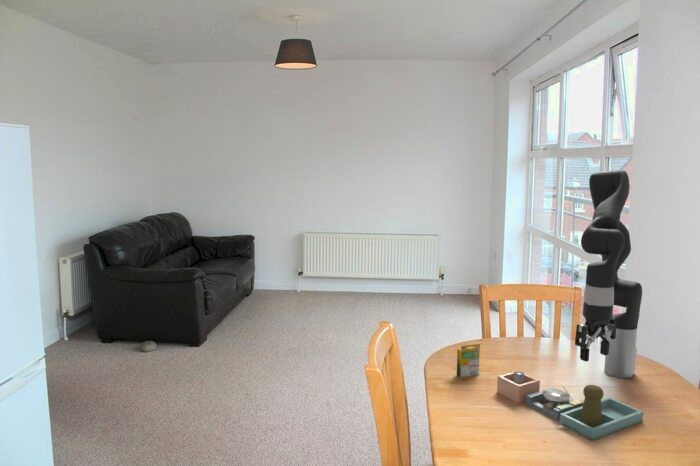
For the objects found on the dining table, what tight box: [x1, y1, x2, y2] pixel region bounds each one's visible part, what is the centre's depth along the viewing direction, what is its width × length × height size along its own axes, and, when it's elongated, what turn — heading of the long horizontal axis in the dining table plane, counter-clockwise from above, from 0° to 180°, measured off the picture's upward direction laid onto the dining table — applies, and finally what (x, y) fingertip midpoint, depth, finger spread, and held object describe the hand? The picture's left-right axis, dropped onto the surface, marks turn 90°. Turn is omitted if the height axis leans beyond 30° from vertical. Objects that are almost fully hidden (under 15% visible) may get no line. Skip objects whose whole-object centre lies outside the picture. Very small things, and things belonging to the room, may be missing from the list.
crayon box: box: [456, 343, 481, 378], centre depth 191 cm, size 7×3×12 cm, turn 108°
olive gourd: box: [580, 384, 605, 428], centre depth 156 cm, size 6×6×11 cm
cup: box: [496, 370, 541, 404], centre depth 175 cm, size 9×9×6 cm
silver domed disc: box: [542, 388, 571, 408], centre depth 166 cm, size 8×8×4 cm
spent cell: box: [513, 370, 525, 384], centre depth 175 cm, size 3×3×7 cm
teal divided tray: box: [559, 396, 644, 441], centre depth 159 cm, size 22×11×3 cm, turn 120°
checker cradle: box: [525, 386, 584, 422], centre depth 167 cm, size 12×12×4 cm
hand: (594, 357), depth 154 cm, fingers open, 8 cm apart
